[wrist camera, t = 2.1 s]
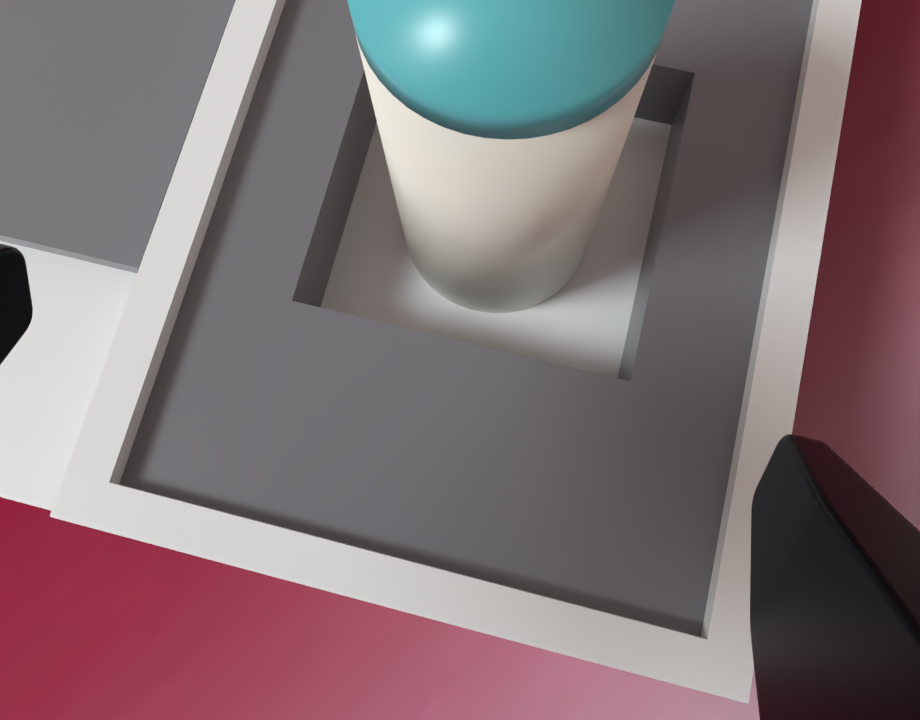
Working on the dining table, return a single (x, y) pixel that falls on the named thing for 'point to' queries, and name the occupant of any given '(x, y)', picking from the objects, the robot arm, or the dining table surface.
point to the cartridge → (504, 131)
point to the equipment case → (412, 325)
